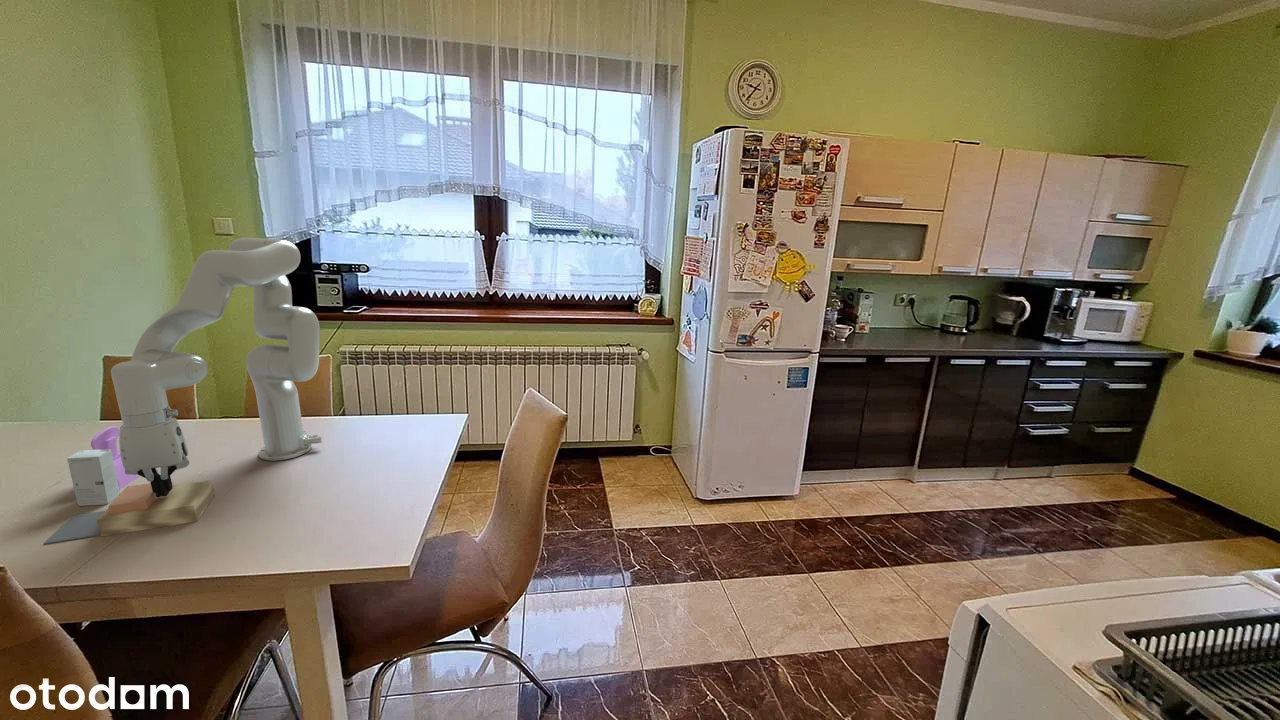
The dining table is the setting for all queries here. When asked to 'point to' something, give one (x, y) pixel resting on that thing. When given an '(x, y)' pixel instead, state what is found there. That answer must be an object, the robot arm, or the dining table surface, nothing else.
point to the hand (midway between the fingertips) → (163, 493)
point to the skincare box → (94, 477)
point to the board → (161, 510)
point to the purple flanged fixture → (113, 453)
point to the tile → (133, 499)
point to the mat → (77, 528)
